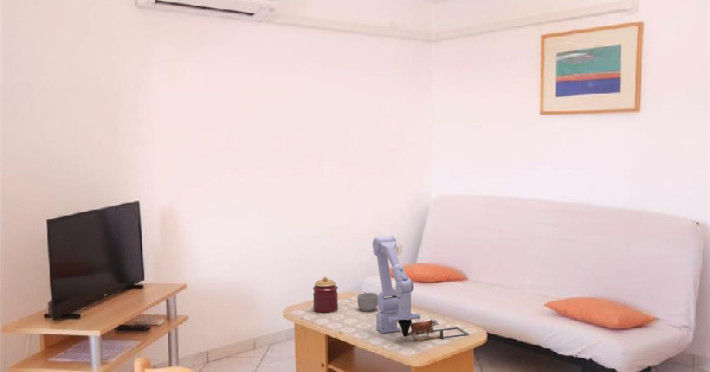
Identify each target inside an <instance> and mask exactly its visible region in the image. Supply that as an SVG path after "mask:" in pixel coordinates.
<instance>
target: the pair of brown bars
mask: <svg viewBox="0 0 710 372" xmlns="http://www.w3.org/2000/svg"><path fill="white" fill-rule="evenodd" d="M439 329H440V331H439V335H435V336H429V337H427V336H426V337H421V338H418V337H417V338H414V339H413V342H414V343H418V342H425V341H431V340H444V338H443V336H444V330H442V329H443V328H439ZM433 330H434V327H433V328H432V329H431V330H430V331H429V334H430V333H433ZM418 334H419V335H422V334H427V332H426V331H422V332H421V333H420V331H419V332H418ZM413 335H414V334H413ZM408 336H412V334H411V331H410V332H409V331H408V335H407V337H408Z"/></svg>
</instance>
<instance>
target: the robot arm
mask: <svg viewBox="0 0 710 372" xmlns="http://www.w3.org/2000/svg"><path fill="white" fill-rule="evenodd" d="M372 240H373V241H372V248H373V254H374V256H376V260H377V265H378V273H379V277H380V278H379V279H380V284H381V291H380V292H379V294H377V295H378V305H377V308H378V310H379V311H378V312H377V313H376V315H375V316H376V317H375V319H376V320H375V321H376V326H375V329H376V330H377V331H379V332H380V333H381V334H384V333H385V334H386V333H395V332H401V334H402V336H403V337H404V338H406V337H408V336H407V335H408V333H409V330H410V329H411V324H412V323H413V321H412V320H421V314H420V313H412V293H413V291H414V283H413V281H412V279H411V278H410V277H409V276H408V275H407V273H406V270H405V268H404V265H401V264H400V261H399V257H398V254H397V251H396V249H397V240H396V237H395V236H394V235H390V236H380V237H374V239H372ZM389 263H390V265H389ZM390 266H391V267H392V269H391V270H390ZM391 273H392V276H391ZM392 277H393V278H394V280H395V283H396V284H395V286H396V291H397V292H395V291H394V290H393V284H392ZM397 311H398V315H397ZM398 325H399V327H398Z"/></svg>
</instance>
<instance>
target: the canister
mask: <svg viewBox="0 0 710 372" xmlns="http://www.w3.org/2000/svg"><path fill="white" fill-rule="evenodd" d="M336 284H337V283H336V281H334V280H332V279H328V277H327V276H323V277H322V279H318V280H317V281H316V282H314V286H313V287H312V290H313V311H314V312H316V313H320V314H325V313H326V314H327V313H333V312H336V311H338V308H339V304H338V303H339V302H338V294H339V293H338V291H337V290H338V286H337V285H336Z"/></svg>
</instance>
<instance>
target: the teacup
mask: <svg viewBox="0 0 710 372" xmlns="http://www.w3.org/2000/svg"><path fill="white" fill-rule="evenodd" d="M378 295H379V294H378V293H375V292H363V293H359V294H358V295H357V296H356V298H357V305H358V308H359V309H360V310H362V311H363V312H373V311H374V310H375V309H376V308H378Z"/></svg>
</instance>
